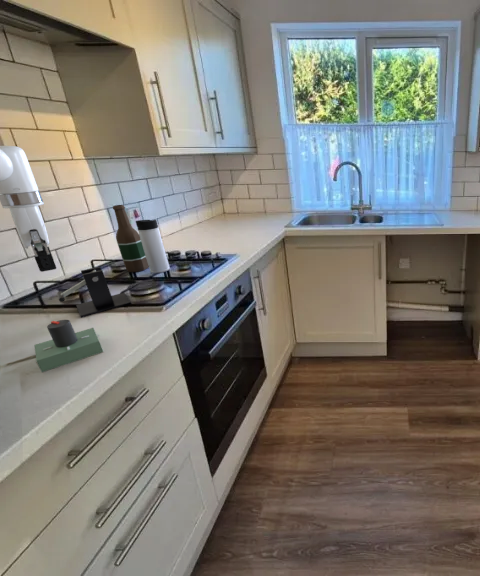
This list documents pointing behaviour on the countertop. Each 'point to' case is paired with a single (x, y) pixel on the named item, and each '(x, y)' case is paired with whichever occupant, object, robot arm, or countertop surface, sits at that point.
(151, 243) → the travel mug
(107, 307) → the bracket
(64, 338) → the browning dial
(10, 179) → the robot arm
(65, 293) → the toaster lever
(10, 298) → the countertop surface
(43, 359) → the dial block
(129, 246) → the beer bottle
